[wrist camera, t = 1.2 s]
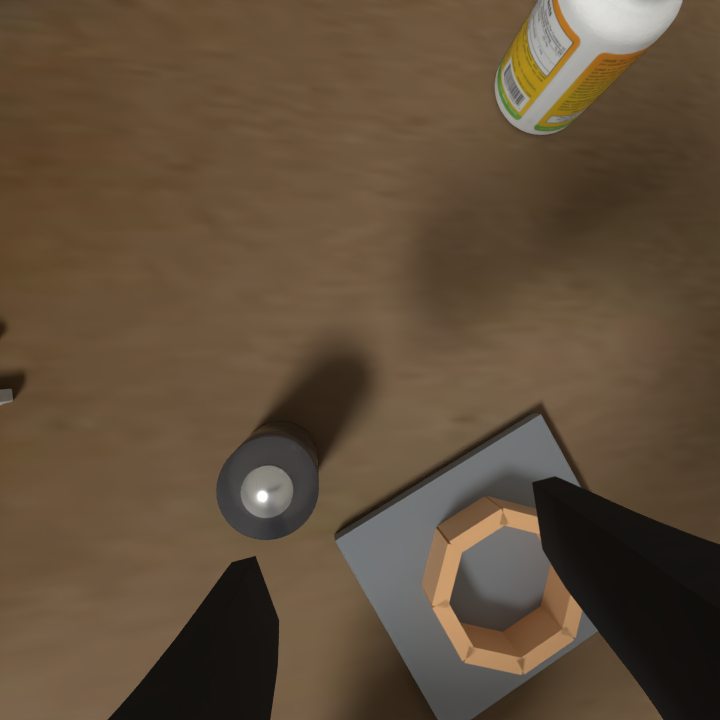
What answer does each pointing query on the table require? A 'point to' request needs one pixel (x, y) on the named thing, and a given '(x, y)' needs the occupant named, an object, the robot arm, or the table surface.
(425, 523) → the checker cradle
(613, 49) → the supplement bottle
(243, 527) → the cell
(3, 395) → the pliers
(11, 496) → the table surface
